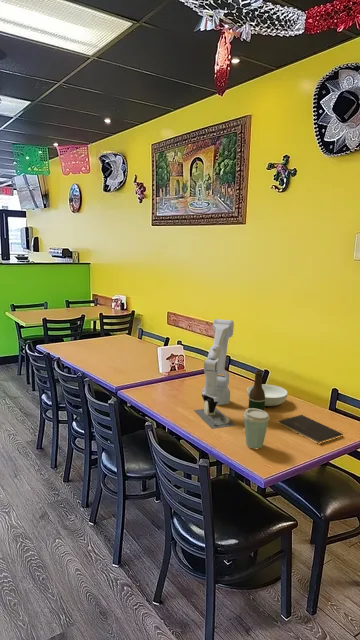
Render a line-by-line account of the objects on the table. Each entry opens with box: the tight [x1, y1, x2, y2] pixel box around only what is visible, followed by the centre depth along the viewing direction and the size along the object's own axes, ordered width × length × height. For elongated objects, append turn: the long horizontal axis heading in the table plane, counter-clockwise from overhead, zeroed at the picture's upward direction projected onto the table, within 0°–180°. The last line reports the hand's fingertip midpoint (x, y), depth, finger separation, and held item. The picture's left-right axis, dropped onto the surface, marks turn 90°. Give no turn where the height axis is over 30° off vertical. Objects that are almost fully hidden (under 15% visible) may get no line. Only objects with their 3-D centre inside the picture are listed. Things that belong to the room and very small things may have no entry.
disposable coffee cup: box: [243, 408, 270, 449], centre depth 170 cm, size 11×11×15 cm
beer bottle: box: [247, 370, 266, 411], centre depth 195 cm, size 8×8×24 cm
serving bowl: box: [246, 383, 289, 407], centre depth 219 cm, size 21×21×7 cm
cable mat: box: [193, 407, 237, 430], centre depth 196 cm, size 12×22×1 cm, turn 20°
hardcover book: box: [278, 414, 344, 443], centre depth 188 cm, size 16×23×2 cm
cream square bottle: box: [203, 400, 215, 416], centre depth 200 cm, size 4×4×7 cm
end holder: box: [208, 412, 231, 426], centre depth 192 cm, size 8×7×2 cm
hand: (209, 410), depth 201 cm, fingers closed on cream square bottle, 4 cm apart
